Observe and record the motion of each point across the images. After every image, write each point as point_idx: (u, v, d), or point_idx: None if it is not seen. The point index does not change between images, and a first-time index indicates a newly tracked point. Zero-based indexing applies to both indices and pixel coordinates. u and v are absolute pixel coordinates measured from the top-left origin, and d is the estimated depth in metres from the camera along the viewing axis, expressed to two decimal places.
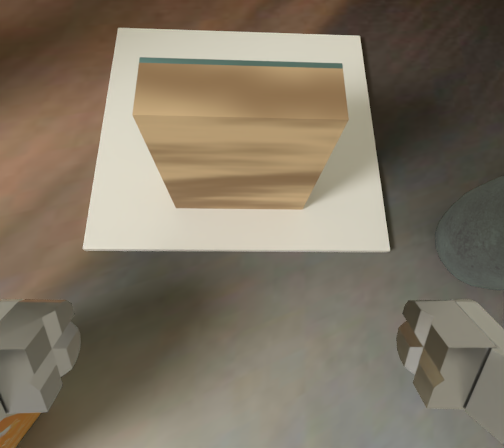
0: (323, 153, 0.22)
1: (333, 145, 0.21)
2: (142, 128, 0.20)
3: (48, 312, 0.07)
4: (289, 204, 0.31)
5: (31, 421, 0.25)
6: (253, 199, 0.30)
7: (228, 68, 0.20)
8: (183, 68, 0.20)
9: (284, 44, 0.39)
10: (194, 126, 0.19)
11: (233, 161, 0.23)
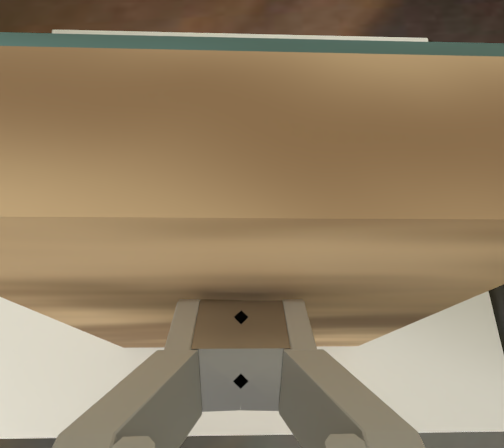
0: (468, 290, 0.08)
1: None
2: None
3: (236, 312, 0.07)
4: (337, 342, 0.16)
5: None
6: None
7: (201, 58, 0.06)
8: (58, 59, 0.06)
9: None
10: (76, 243, 0.05)
11: None
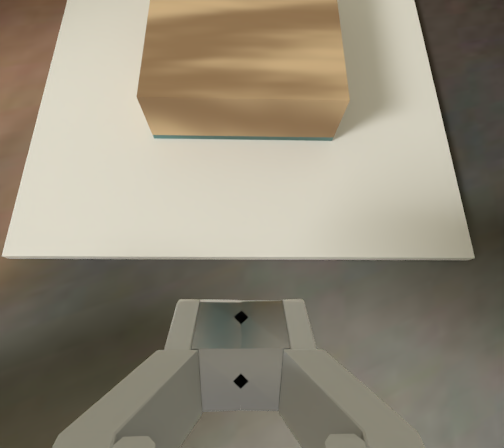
0: None
1: None
2: None
3: (236, 312, 0.07)
4: (323, 82, 0.19)
5: None
6: (264, 65, 0.20)
7: None
8: None
9: None
10: None
11: None
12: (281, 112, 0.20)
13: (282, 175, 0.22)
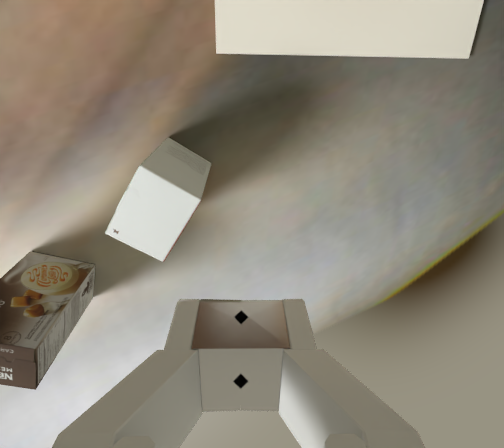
0: None
1: None
2: None
3: (236, 312, 0.07)
4: None
5: None
6: None
7: None
8: None
9: None
10: None
11: None
12: None
13: None
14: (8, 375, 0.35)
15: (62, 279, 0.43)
